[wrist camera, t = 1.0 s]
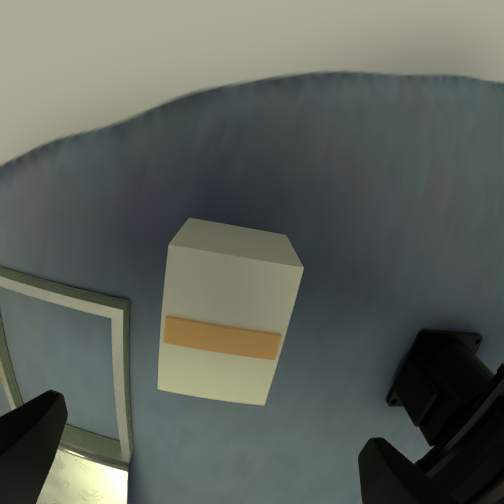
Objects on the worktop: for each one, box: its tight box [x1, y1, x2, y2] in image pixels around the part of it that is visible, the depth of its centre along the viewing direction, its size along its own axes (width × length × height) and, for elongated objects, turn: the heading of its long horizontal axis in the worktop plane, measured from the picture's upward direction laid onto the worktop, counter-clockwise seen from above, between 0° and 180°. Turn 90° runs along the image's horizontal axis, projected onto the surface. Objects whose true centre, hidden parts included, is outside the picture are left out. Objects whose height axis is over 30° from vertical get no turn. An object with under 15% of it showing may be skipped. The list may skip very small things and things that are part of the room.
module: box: [158, 218, 304, 405], centre depth 15 cm, size 5×7×5 cm
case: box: [0, 267, 134, 504], centre depth 16 cm, size 11×27×9 cm, turn 169°
